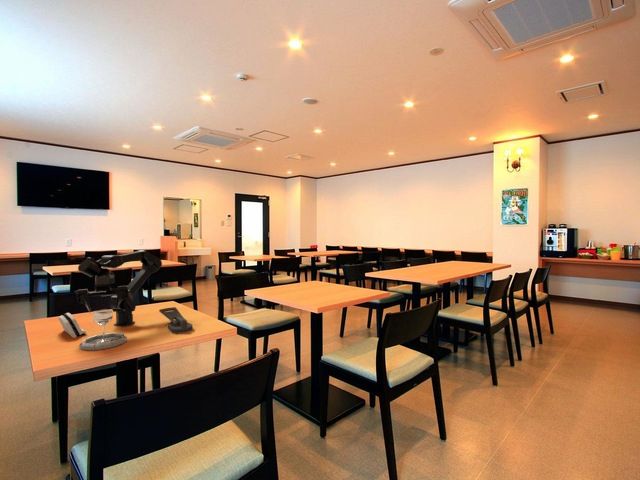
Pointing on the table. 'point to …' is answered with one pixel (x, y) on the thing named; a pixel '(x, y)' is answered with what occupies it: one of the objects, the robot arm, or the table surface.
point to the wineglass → (103, 320)
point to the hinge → (70, 325)
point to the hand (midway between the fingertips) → (103, 310)
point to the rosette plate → (91, 344)
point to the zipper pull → (176, 321)
